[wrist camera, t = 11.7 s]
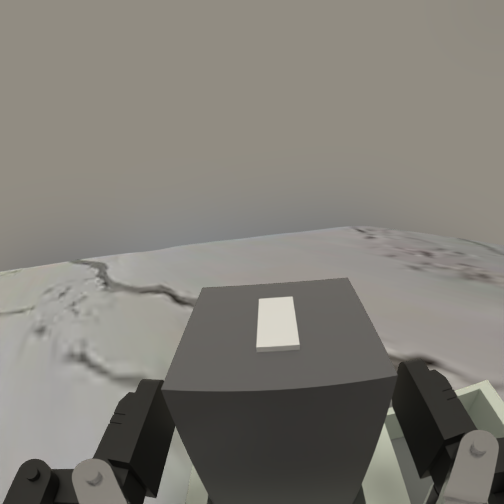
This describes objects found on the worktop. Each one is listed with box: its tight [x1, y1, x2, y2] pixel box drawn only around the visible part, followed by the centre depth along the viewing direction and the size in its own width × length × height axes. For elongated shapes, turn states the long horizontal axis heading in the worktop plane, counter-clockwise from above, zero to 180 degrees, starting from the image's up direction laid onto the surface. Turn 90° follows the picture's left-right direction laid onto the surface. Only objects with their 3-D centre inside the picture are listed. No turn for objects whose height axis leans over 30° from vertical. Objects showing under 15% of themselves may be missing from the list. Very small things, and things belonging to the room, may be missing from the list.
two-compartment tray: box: [185, 380, 504, 504], centre depth 16 cm, size 17×18×3 cm
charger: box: [161, 278, 398, 504], centre depth 10 cm, size 5×5×12 cm
